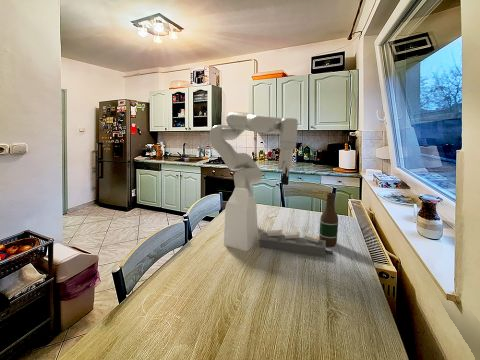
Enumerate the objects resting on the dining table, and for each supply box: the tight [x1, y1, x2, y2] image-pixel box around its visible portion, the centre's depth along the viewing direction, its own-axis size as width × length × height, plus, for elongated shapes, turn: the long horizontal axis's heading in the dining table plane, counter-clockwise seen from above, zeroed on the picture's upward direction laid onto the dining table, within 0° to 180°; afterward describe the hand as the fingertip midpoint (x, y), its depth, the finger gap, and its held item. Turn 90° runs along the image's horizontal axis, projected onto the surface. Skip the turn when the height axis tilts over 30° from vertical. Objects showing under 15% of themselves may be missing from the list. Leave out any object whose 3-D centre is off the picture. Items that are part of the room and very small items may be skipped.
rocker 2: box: [303, 232, 319, 243], centre depth 109 cm, size 6×3×2 cm, turn 72°
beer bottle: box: [318, 192, 339, 248], centre depth 114 cm, size 8×8×24 cm
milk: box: [223, 187, 259, 252], centre depth 115 cm, size 12×12×26 cm
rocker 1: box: [266, 229, 283, 236], centre depth 114 cm, size 6×3×2 cm, turn 69°
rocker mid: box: [284, 231, 301, 239], centre depth 112 cm, size 6×3×2 cm, turn 69°
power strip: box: [258, 232, 334, 258], centre depth 110 cm, size 31×8×4 cm, turn 71°
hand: (284, 184), depth 120 cm, fingers closed
